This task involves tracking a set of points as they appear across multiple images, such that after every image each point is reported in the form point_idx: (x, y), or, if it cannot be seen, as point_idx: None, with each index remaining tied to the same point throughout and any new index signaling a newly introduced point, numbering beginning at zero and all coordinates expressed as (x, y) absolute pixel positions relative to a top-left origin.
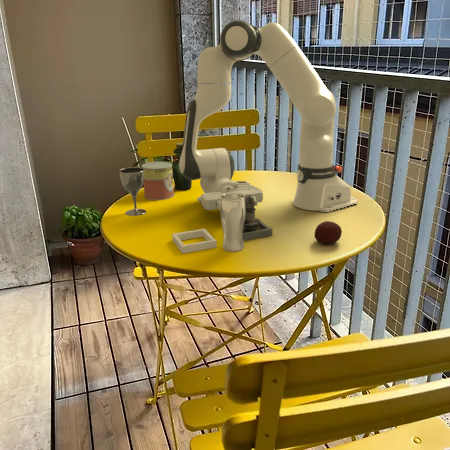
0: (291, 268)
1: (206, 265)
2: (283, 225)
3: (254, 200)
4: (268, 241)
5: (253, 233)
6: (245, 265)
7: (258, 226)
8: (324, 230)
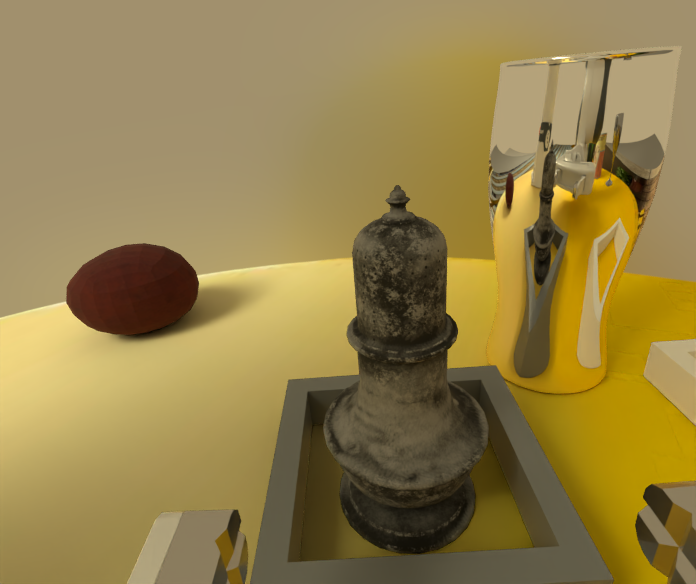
0: None
1: (650, 289)
2: (101, 525)
3: (198, 514)
4: (351, 369)
5: None
6: None
7: (299, 544)
8: (175, 252)
